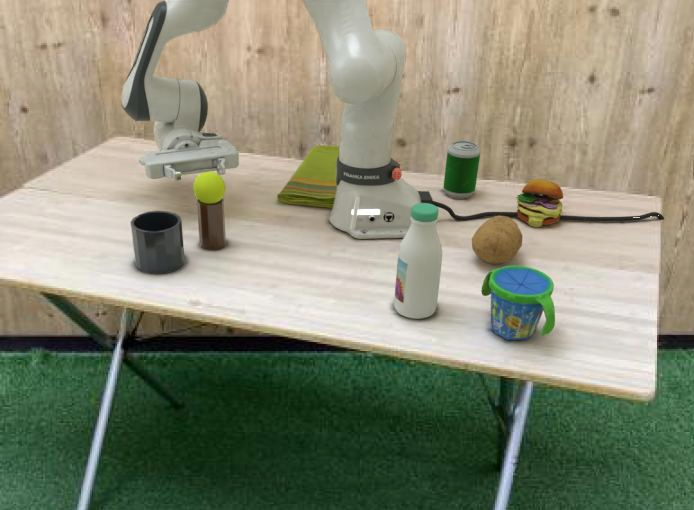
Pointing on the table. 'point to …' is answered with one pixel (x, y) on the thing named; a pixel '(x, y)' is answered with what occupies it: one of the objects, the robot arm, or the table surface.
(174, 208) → the table surface
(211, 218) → the ball stand
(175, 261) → the dark grey round container
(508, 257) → the potato
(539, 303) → the snack cup
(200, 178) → the tennis ball
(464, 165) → the soda can
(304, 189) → the dish towel
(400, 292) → the milk bottle
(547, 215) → the cheeseburger
